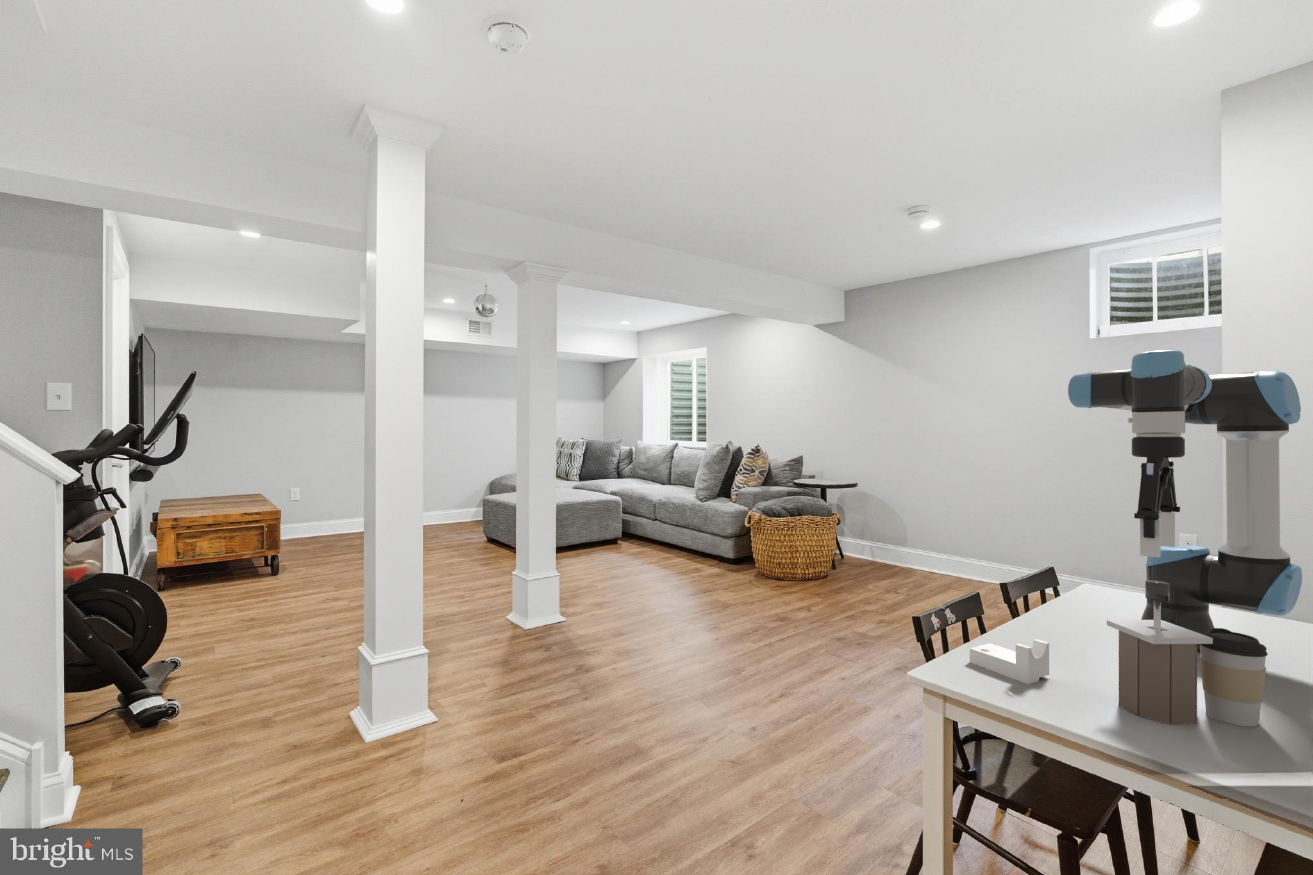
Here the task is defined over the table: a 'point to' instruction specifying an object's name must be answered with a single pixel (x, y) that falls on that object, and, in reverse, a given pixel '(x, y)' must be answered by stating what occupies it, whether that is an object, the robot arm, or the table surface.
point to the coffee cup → (1233, 676)
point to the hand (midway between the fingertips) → (1158, 551)
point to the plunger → (1157, 598)
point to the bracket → (1014, 660)
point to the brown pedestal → (1158, 670)
